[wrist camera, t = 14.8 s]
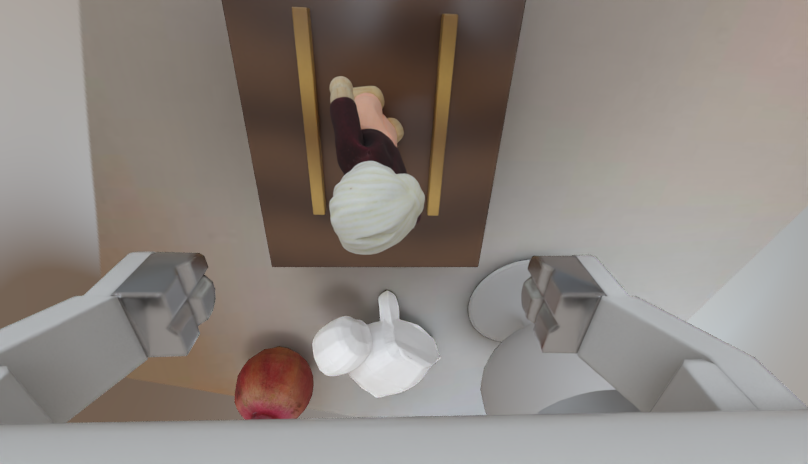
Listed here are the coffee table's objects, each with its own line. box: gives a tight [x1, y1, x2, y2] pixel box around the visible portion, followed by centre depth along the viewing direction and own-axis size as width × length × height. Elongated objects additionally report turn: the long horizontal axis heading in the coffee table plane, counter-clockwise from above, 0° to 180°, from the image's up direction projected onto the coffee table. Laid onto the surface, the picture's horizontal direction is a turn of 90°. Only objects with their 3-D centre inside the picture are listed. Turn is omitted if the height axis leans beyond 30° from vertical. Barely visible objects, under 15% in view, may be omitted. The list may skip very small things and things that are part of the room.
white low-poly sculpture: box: [312, 290, 441, 398], centre depth 37 cm, size 9×8×15 cm
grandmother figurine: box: [329, 76, 425, 255], centre depth 17 cm, size 8×4×13 cm, turn 39°
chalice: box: [468, 260, 641, 415], centre depth 34 cm, size 14×14×15 cm
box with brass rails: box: [222, 0, 526, 267], centre depth 25 cm, size 22×16×8 cm
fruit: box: [235, 346, 313, 420], centre depth 38 cm, size 8×8×10 cm
